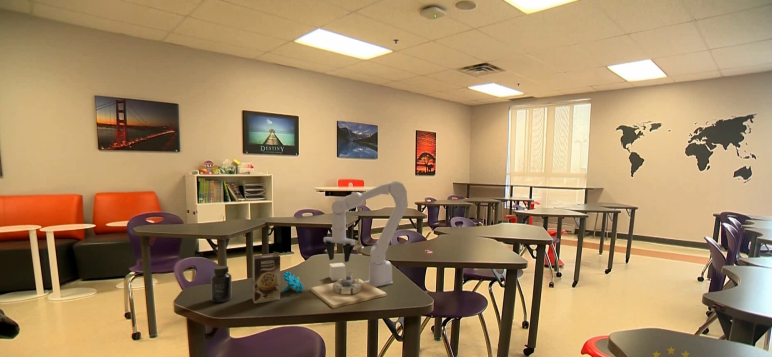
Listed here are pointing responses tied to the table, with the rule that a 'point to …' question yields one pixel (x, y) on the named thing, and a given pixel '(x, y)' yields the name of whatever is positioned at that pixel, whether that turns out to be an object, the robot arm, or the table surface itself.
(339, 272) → the cream cube
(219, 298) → the supplement bottle
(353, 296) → the beige square board
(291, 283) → the gear
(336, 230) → the robot arm
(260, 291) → the cookie box
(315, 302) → the table surface
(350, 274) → the faceted metal ring
